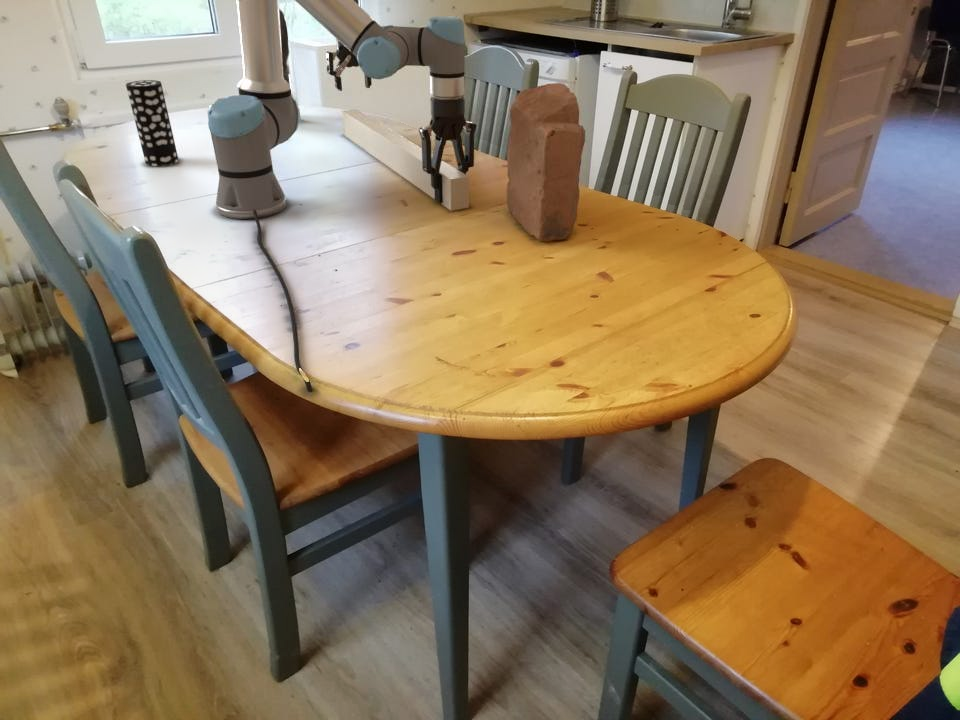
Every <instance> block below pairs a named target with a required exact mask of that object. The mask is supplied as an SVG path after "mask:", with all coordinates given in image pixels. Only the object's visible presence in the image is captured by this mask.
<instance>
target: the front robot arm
mask: <svg viewBox="0 0 960 720" xmlns="http://www.w3.org/2000/svg"><path fill="white" fill-rule="evenodd" d="M294 1H295V2H296V3H297V4H298V5H299V6H301V7H302V8H303V9H304V10H305V12H307V13H308V14H309V15H310V16H311V17H312V18H314V20H316V22H318V24H320V25H321V26H322V27H324V29H326V31H327V32H329V33H330V34H331V35H332V36H333V37H334V38H335V39H336V38H337V39H338V40H339V41H340V42H341V43H342V44H343V45H344V46H345V47H346V48H347V49H348V50H350V51H351V52H352V53H353V54H354V55H355V56H356V57H357V60H358V64H359V66H358V67H359V68H360V70H361V72H362V73H363V75H364V74H365V75H367V76H368V77H370V78H371V79H372V80H384V79H388V78H390V77H393V75H394V74H396V73H397V72H398V71H399V70H402V69H404V67H406V66H409V67H410V66H412V67H428V68H429V92H430V95H431V97H430V98H429V99H430V100H429V101H430V117H431V118H430V121H429V125H426V126H424V127H419V128H418V133H419V136H420V138H421V148H422V167H423V171H425V172H426V173H428V174H431V186H432V188H434V191H435V199H434V201H436V202H437V203H438V204H441V203H443V196H442V175H441V174H439V171H440V165H441V160H442V161H443V156H444V149H445V146H446V145H447V142H448V141H451V143H452V147H453V151H454V156H455V160H456V163H457V168H456V169H457V170H459V171H461V172H462V173H464V174H466V175H467V172H469V170H470V168H474V166H475V133H476V130H477V123H475V122H472V121H470V120H468V121H467V119H466V118H465V113H466V99H465V97H464V95H465V94H466V79H465V77H466V76H465V74H466V73H465V69H466V68H465V65H466V64H465V62H466V61H465V58H466V55H465V54H466V39H465V24H464V21H463V20H462V18H460V17H457V16H449V15H447V16H433V17H430V18H429V19H428V22H427V23H428V24H427V26H425V27H417V26H397V25H391V24H389V25H383V26H382V25H380V24H379V23H378V22H377V21H376V20H375V19H374V18H373V17H372V16H371V15H370V14H369V13H368V12H367V11H366V10H364V9H363V8H362V6H361V5H360V6H359V5H358V4H357V3H356V2H355V1H354V0H294ZM236 4H237V5H236V6H237V14H238V15H237V17H238V26H239V37H240V44H241V45H240V46H241V56H242V65H243V66H242V69H243V78H242V79H241V80H240V81H239V82H238V84H237V89H238V90H237V91H238V94H237V95H229V96H227V97H221V98H222V99H220V98H218V99H219V100H218V99H216V100H217V101H216V100H215V101H214V102H212V103H211V104H210V105H209V107H208V109H207V118H208V120H207V121H208V123H207V124H208V129H209V131H210V132H209V133H210V136H211V142H212V147H213V151H214V156H215V161H216V166H217V169H218V170H217V172H218V185H217V193H216V201H215V206H216V210H217V213H218V214H219V215H221V216H223V217H225V218H229V219H236V220H253V219H254V221H255V223H256V227H257V237H256V240H257V244H258V246H259V248H260V250H261V251H262V253H263V254H264V256H265V257H266V259H267V261H268V263H269V264H270V266H271V267H272V269H273V271H274V273H275V275H276V276H277V279H278V281H279V282H280V286H281V288H282V290H283V293H284V296H285V299H286V302H287V305H288V310H289V316H290V321H291V330H292V339H293V358H294V364H295V368H296V370H297V372H298V374H299V376H301V374H300V372H299V368H301V369H302V370H303V371H304V369H303V367H302V365H301V360H300V344H299V343H300V342H299V338H298V337H299V335H298V327H297V326H298V325H297V320H296V315H295V310H294V306H293V302H292V299H291V296H290V292H289V290H288V287H287V285H286V283H285V281H284V278H283V275H282V274H281V272H280V271H279V268H278V267H277V265H276V263H275V261H274V260H273V259H272V257H271V255H270V254H269V252H268V251H267V249H266V248H265V246H264V244H263V243H262V225H261V223H260V218H261V219H262V218H265V217H266V218H267V217H270V216H274V215H276V214H278V213H280V212H282V211H283V210H285V209H286V207H287V199H286V194H285V193H284V191H283V189H282V187H281V184H280V182H279V180H278V179H277V177H276V175H275V172H274V167H273V160H272V154H271V151H272V150H273V149H275V147H277V146H279V145H281V144H284V143H285V142H287V141H289V139H290V138H291V137H292V136H293V135H294V134H295V133H296V132H297V130H298V128H299V125H300V122H301V111H300V107H299V104H298V102H297V100H296V99H295V98H294V96H293V97H292V94H291V86H290V84H289V83H288V82H287V81H286V80H285V79H284V75H283V60H282V45H281V30H280V15H279V9H280V2H279V0H236ZM463 130H464V147H463V139H462V134H461V133H462V131H463ZM432 132H433V133H434V141H433V142H434V146H433V150H432V139H431V137H432ZM431 154H432V158H431ZM303 382H304V384H305V388H306V390H307V393H312V392H314V391H313V386H312V383H311V380H310V379H309V382H306V381H305V380H304V379H303Z"/></svg>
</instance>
